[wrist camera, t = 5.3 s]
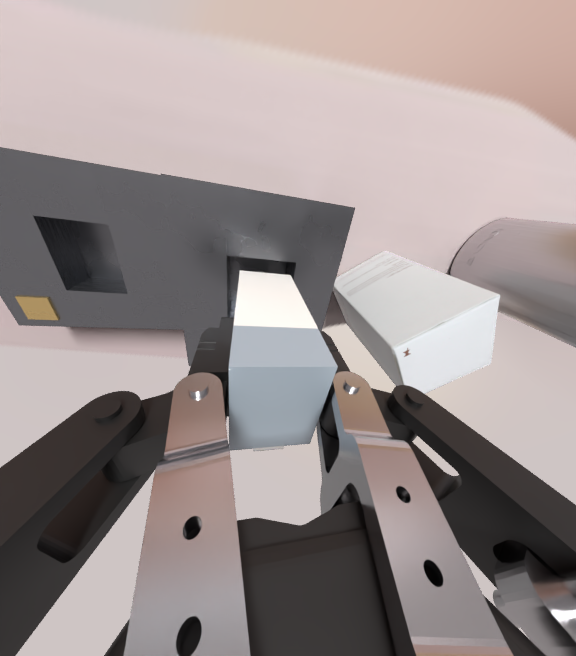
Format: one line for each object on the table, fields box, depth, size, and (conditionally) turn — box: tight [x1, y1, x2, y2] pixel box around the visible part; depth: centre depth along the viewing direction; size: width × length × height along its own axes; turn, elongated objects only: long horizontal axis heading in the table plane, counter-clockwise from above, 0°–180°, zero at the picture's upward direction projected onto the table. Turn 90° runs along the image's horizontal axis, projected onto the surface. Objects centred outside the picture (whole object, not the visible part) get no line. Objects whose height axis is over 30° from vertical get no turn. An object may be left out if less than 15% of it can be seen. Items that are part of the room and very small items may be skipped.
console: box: [0, 147, 355, 366], centre depth 16 cm, size 24×12×9 cm, turn 82°
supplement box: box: [333, 250, 500, 394], centre depth 20 cm, size 7×7×13 cm
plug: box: [229, 270, 338, 451], centre depth 10 cm, size 3×5×8 cm, turn 172°
